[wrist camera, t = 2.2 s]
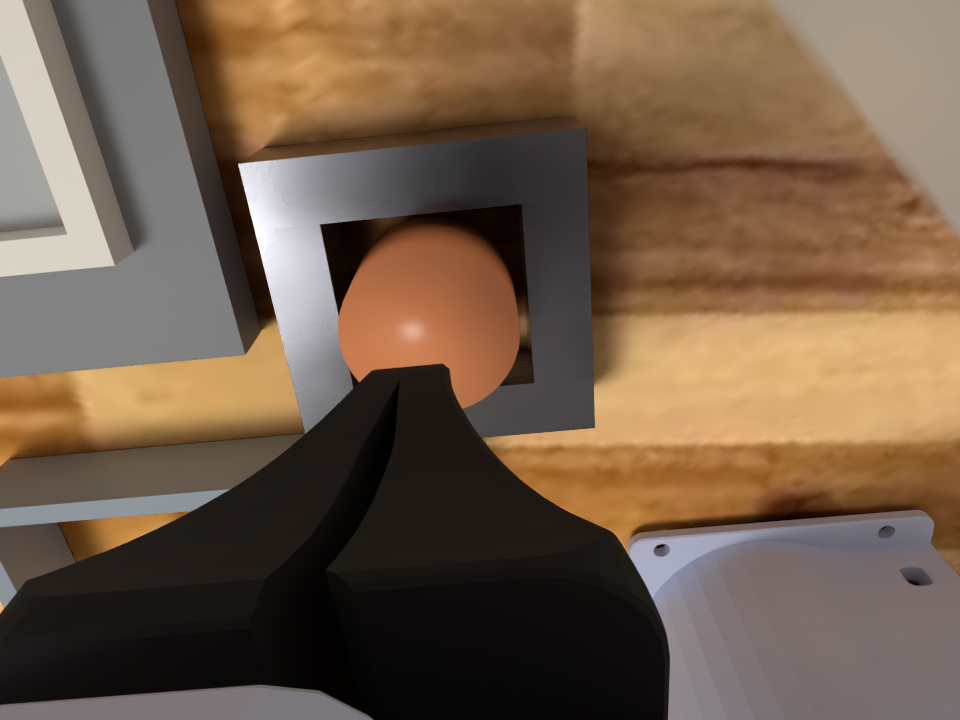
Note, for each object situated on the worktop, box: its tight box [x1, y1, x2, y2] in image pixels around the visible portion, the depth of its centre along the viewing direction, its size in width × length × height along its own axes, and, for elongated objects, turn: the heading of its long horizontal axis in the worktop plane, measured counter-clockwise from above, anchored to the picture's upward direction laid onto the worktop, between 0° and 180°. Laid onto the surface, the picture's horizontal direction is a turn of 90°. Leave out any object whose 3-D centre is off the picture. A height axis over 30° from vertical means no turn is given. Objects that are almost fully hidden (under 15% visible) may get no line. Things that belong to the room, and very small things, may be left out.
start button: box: [338, 218, 520, 409], centre depth 16 cm, size 4×4×2 cm
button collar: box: [238, 116, 595, 438], centre depth 18 cm, size 8×8×2 cm
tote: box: [0, 433, 305, 608], centre depth 23 cm, size 13×13×2 cm
